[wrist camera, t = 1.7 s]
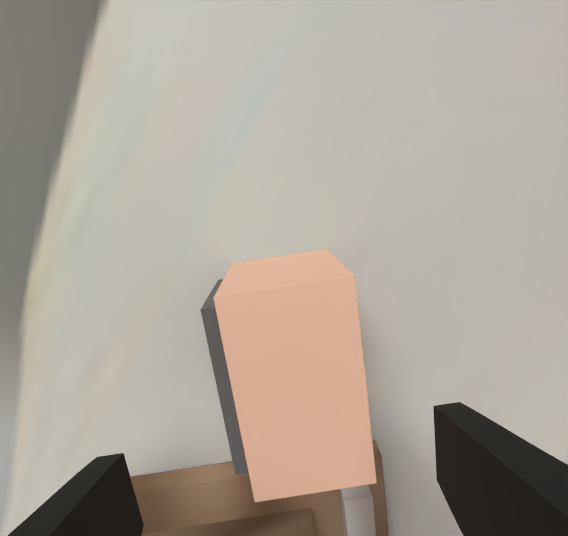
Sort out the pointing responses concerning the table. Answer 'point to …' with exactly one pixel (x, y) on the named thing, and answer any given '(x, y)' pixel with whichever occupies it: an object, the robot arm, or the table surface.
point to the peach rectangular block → (291, 374)
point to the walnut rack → (254, 506)
